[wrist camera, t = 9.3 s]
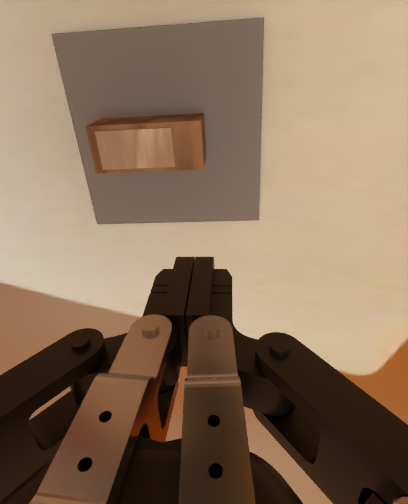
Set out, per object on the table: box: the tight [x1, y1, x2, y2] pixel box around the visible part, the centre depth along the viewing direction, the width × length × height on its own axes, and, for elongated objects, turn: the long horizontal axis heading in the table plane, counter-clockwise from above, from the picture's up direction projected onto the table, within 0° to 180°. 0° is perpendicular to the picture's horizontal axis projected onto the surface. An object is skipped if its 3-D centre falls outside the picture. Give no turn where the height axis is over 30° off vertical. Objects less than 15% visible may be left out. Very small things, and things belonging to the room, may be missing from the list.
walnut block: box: [85, 113, 206, 174], centre depth 38 cm, size 5×5×12 cm
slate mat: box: [52, 18, 264, 224], centre depth 40 cm, size 22×22×1 cm
